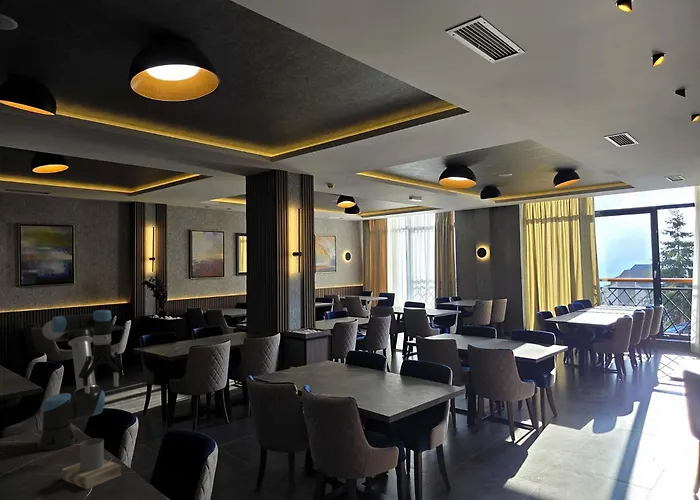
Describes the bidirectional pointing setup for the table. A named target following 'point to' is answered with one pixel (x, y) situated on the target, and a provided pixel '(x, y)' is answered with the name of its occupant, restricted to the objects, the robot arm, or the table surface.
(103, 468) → the oak stand
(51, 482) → the table surface
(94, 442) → the cup
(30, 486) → the table surface
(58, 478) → the table surface
